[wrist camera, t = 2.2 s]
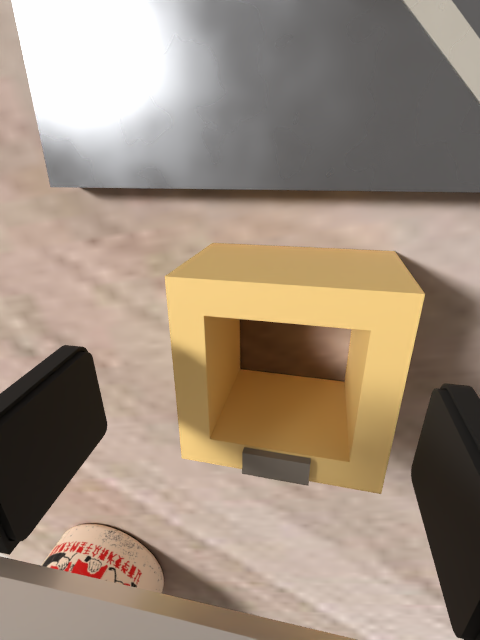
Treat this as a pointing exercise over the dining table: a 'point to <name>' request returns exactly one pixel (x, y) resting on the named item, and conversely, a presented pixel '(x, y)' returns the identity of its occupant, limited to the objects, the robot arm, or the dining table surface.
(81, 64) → the post plate
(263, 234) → the dining table surface
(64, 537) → the teacup with lid
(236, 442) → the collar
